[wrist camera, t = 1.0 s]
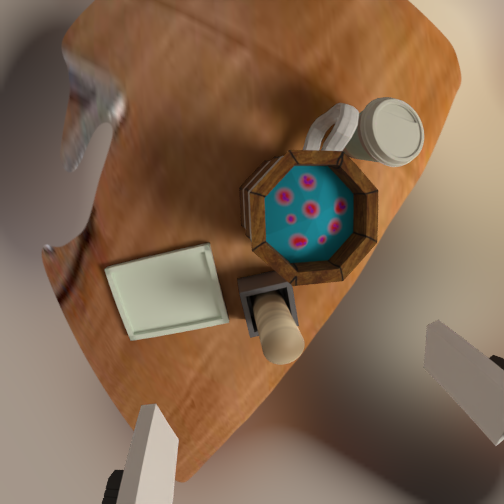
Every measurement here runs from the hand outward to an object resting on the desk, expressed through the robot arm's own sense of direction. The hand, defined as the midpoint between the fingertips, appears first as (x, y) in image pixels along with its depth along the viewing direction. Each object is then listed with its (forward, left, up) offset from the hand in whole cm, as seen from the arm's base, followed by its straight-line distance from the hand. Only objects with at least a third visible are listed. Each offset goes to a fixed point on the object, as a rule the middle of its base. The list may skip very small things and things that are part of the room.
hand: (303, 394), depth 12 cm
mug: (-7, +8, -31) cm, 33 cm away
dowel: (+8, +1, -30) cm, 31 cm away
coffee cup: (-12, +19, -31) cm, 38 cm away
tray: (+5, -13, -31) cm, 34 cm away
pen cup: (+8, +1, -31) cm, 32 cm away
